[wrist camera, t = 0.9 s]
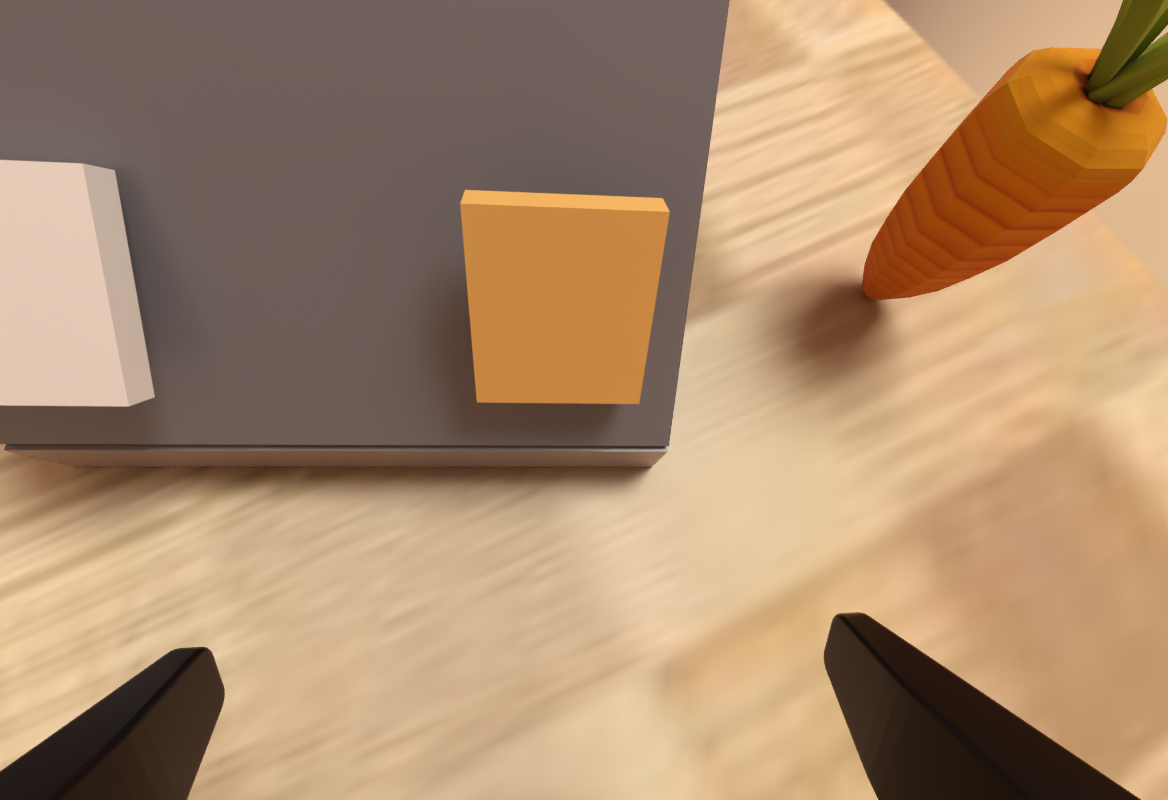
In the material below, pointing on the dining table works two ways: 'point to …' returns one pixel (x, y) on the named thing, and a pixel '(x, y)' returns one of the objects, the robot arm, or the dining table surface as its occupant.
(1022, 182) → the carrot
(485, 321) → the block
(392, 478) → the dining table surface
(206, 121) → the switch console
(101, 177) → the block
